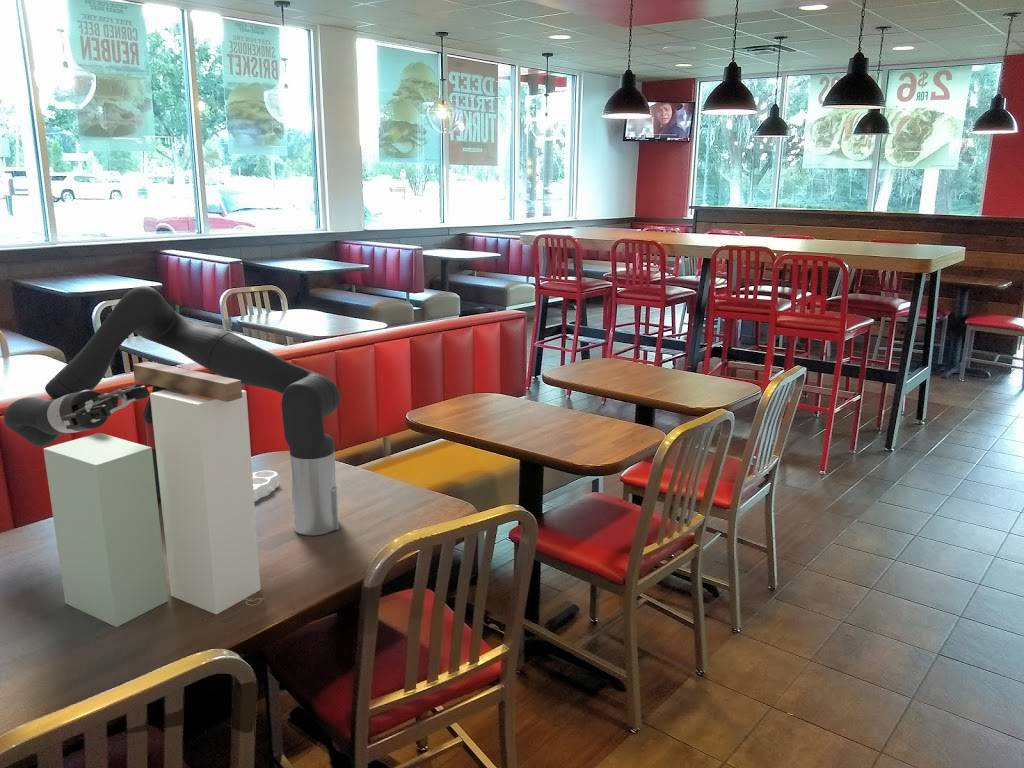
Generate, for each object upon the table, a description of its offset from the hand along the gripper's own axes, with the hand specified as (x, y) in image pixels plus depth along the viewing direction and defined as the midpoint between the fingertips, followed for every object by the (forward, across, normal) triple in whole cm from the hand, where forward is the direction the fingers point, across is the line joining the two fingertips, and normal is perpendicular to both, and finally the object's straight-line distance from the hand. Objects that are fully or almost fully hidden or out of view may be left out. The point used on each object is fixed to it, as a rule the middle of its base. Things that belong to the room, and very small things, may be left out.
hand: (127, 400), depth 145 cm
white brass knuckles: (-22, +30, +35) cm, 51 cm away
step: (-4, -17, +31) cm, 36 cm away
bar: (+16, 0, 0) cm, 17 cm away
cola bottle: (-34, +21, +30) cm, 50 cm away
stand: (+8, -7, +37) cm, 39 cm away
